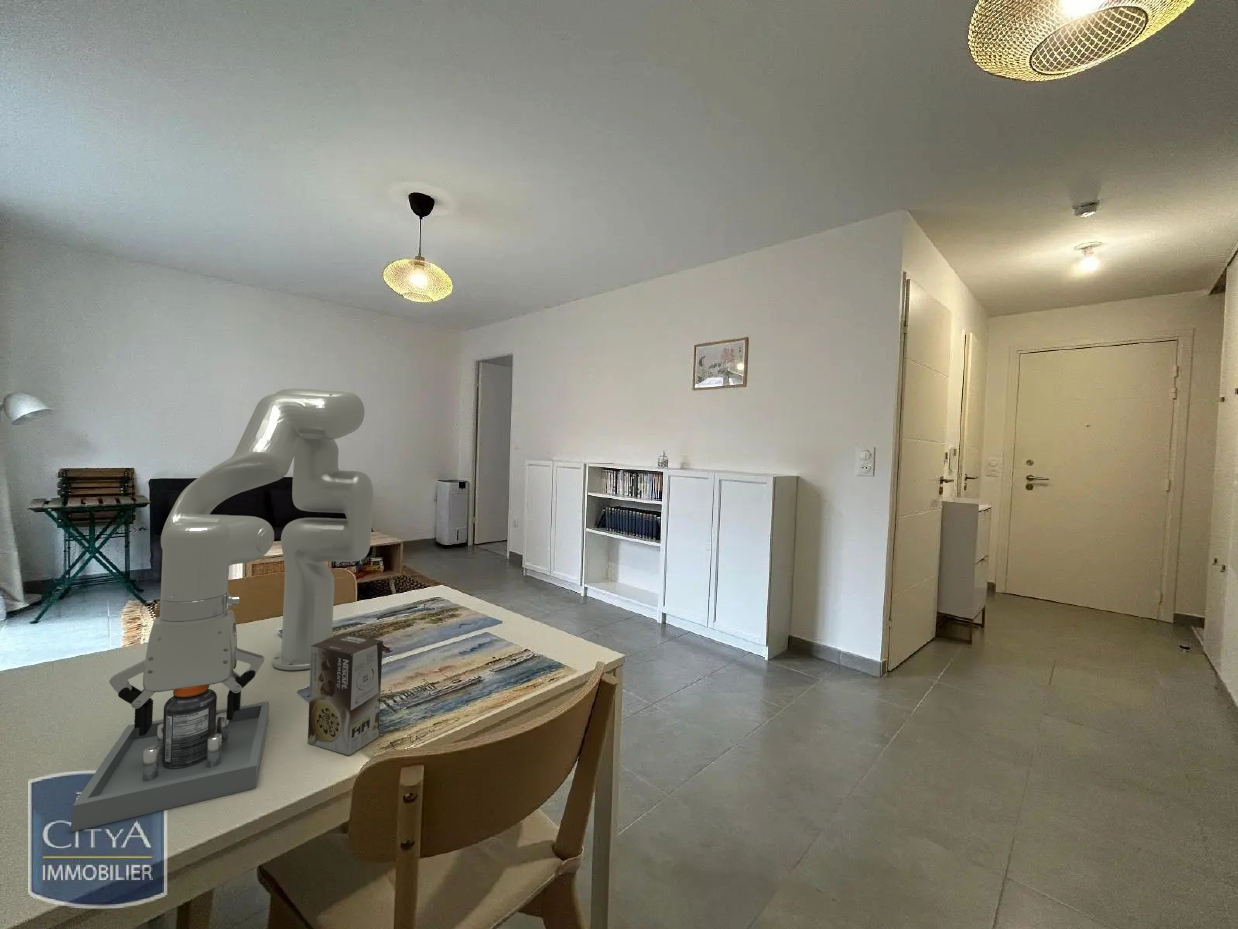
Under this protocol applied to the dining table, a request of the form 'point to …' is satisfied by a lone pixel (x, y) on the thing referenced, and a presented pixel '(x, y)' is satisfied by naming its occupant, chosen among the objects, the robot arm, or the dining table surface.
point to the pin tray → (172, 770)
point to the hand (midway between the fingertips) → (189, 723)
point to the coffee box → (344, 692)
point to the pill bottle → (188, 725)
